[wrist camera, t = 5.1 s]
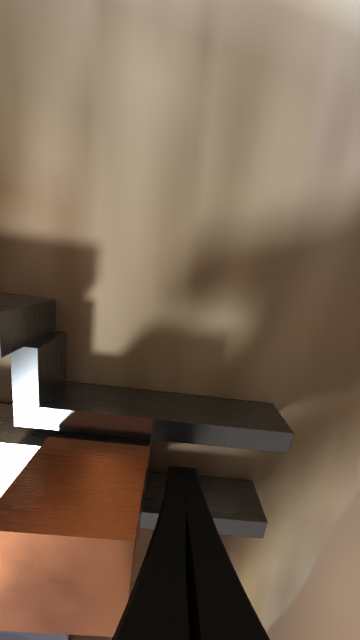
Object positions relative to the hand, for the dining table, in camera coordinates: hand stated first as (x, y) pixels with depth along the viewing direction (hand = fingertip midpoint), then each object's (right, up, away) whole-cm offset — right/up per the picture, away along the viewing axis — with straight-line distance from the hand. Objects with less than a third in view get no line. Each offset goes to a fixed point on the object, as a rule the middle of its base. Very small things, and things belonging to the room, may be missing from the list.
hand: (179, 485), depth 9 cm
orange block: (-7, +1, +2) cm, 7 cm away
